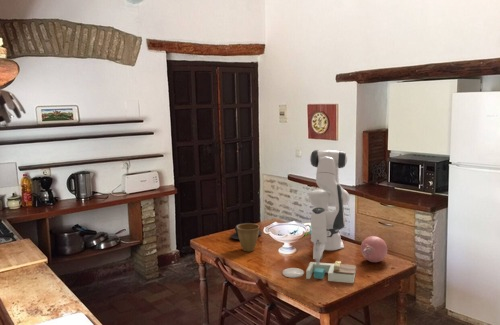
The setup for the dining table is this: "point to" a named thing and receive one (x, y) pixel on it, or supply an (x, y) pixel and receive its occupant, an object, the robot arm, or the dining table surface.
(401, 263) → the dining table surface
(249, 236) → the plant pot
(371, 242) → the pink round piece
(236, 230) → the casserole
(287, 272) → the plate
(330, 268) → the board
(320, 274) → the block
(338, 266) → the lid
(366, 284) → the dining table surface
